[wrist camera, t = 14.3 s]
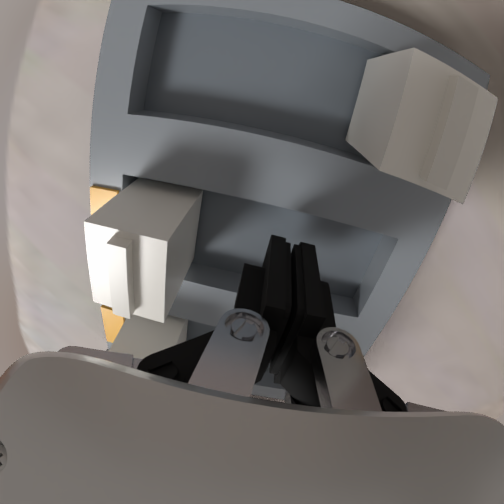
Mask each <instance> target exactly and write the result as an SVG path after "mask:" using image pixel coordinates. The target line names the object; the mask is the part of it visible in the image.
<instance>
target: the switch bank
mask: <svg viewBox="0 0 504 504" xmlns="http://www.w3.org/2000/svg"><path fill="white" fill-rule="evenodd" d="M411 48H416V49H418V50H420V51H422V52H424V53H426V54H428V55H430V56H432V57H434V58H436V59H438V60H439V61H441V62H443V63H445V64H447V65H448V66H450V67H452V68H453V69H455V70H457V71H458V72H460V73H462V74H463V75H465V76H467V77H468V78H470V79H471V80H473V81H474V82H476V83H477V84H479V85H480V86H482V87H483V88H485V89H486V90H487V88H488V83H489V78H490V75H489V74H488V73H486V72H485V71H483V70H482V69H480V68H479V67H478V66H476V65H475V64H473V63H472V62H470V61H469V60H467V59H465V58H464V57H462V56H461V55H459V54H457V53H456V52H454V51H452V50H451V49H449V48H447V47H446V46H444V45H442V44H440V43H439V42H437V41H435V40H433V39H431V38H429V37H427V36H425V35H424V34H422V33H420V32H418V31H416V30H414V29H411V28H409V27H407V26H405V25H403V24H401V23H398V22H396V21H394V20H392V19H389V18H387V17H384V16H382V15H380V14H377V13H374V12H372V11H369V10H367V9H364V8H361V7H358V6H355V5H352V4H349V3H346V2H343V1H340V0H111V4H110V8H109V12H108V16H107V20H106V25H105V29H104V34H103V39H102V44H101V50H100V56H99V62H98V68H97V75H96V82H95V90H94V100H93V110H92V123H91V139H90V213H91V215H92V214H93V213H95V212H96V211H97V210H98V209H99V208H101V207H102V206H103V205H104V204H106V203H107V202H108V201H109V200H111V199H112V198H113V197H114V196H116V195H117V194H118V193H120V192H121V191H122V190H123V189H125V188H126V187H127V186H129V185H130V184H131V183H133V182H134V181H135V180H137V179H138V178H145V179H150V180H155V181H161V182H166V183H171V184H176V185H181V186H186V187H191V188H196V189H201V190H203V195H202V202H201V208H200V215H199V222H198V230H197V237H196V245H195V253H194V259H193V261H192V263H191V265H190V267H189V269H188V271H187V274H186V276H185V278H184V280H183V282H182V284H181V287H180V289H179V291H178V293H177V295H176V298H175V300H174V302H173V304H172V307H171V309H170V311H169V313H168V315H171V316H175V317H179V318H183V319H187V320H188V326H187V338H186V341H188V340H190V339H193V338H195V337H198V336H200V335H203V334H205V333H208V332H211V331H213V330H215V328H216V326H217V324H218V322H219V320H220V318H221V317H222V315H223V314H224V313H225V312H227V311H229V310H232V309H234V304H235V300H236V295H237V291H238V287H239V283H240V278H241V274H242V270H243V266H244V263H247V264H251V265H255V266H259V267H262V265H263V262H264V258H265V255H266V251H267V248H268V244H269V241H270V237H271V235H276V236H280V237H284V238H286V242H289V243H291V251H292V248H293V246H294V244H297V245H299V243H300V242H304V243H308V244H312V245H315V248H316V254H317V260H318V267H319V273H320V280H321V281H324V282H327V283H328V284H329V287H330V293H331V299H332V305H333V311H334V317H335V323H336V328H340V329H343V330H345V331H347V332H348V333H350V334H351V335H352V336H353V337H354V338H355V339H356V340H357V342H358V344H359V346H360V349H361V351H362V354H363V357H364V356H365V354H366V353H367V351H368V350H369V348H370V347H371V346H372V344H373V343H374V341H375V340H376V338H377V337H378V335H379V334H380V332H381V331H382V329H383V328H384V326H385V325H386V323H387V321H388V320H389V318H390V317H391V315H392V313H393V312H394V310H395V309H396V307H397V305H398V304H399V302H400V300H401V299H402V297H403V295H404V294H405V292H406V290H407V288H408V287H409V285H410V283H411V281H412V280H413V278H414V276H415V274H416V272H417V270H418V269H419V267H420V265H421V263H422V261H423V259H424V257H425V255H426V253H427V251H428V249H429V247H430V245H431V243H432V241H433V239H434V237H435V235H436V233H437V231H438V229H439V227H440V225H441V222H442V220H443V218H444V216H445V213H446V211H447V209H448V207H449V204H450V202H451V200H452V199H450V198H448V197H446V196H443V195H441V194H439V193H436V192H434V191H431V190H429V189H427V188H424V187H422V186H419V185H417V184H414V183H411V182H409V181H406V180H404V179H401V178H398V177H395V176H393V175H390V174H387V173H384V172H382V171H379V170H378V169H377V168H376V167H375V166H374V165H373V164H372V163H370V162H369V161H368V160H367V159H366V158H365V157H364V156H363V155H362V154H361V153H359V152H358V151H357V150H356V149H355V148H354V147H353V146H351V145H350V144H349V143H348V142H347V141H346V140H345V139H346V136H347V132H348V129H349V126H350V122H351V119H352V115H353V112H354V108H355V104H356V101H357V97H358V94H359V90H360V86H361V82H362V79H363V75H364V71H365V67H366V63H367V60H368V59H372V58H375V57H379V56H383V55H386V54H390V53H394V52H398V51H402V50H406V49H411ZM100 307H101V313H102V319H103V324H104V329H105V334H106V339H107V344H108V349H110V347H111V346H112V344H113V342H114V340H115V338H116V336H117V334H118V333H119V331H120V329H121V327H122V325H123V324H124V322H125V320H126V318H124V317H121V316H118V315H115V314H113V310H112V307H109V306H105V305H102V304H100ZM269 367H270V363H269V366H268V368H267V370H266V372H265V373H264V375H263V377H262V379H261V381H259V382H258V383H256V384H254V386H253V390H252V393H251V394H252V395H258V396H263V397H269V398H276V399H283V400H285V399H284V396H285V391H286V390H285V389H284V388H283V387H282V386H281V385H280V384H276V383H274V374H271V373H269Z"/></svg>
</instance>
